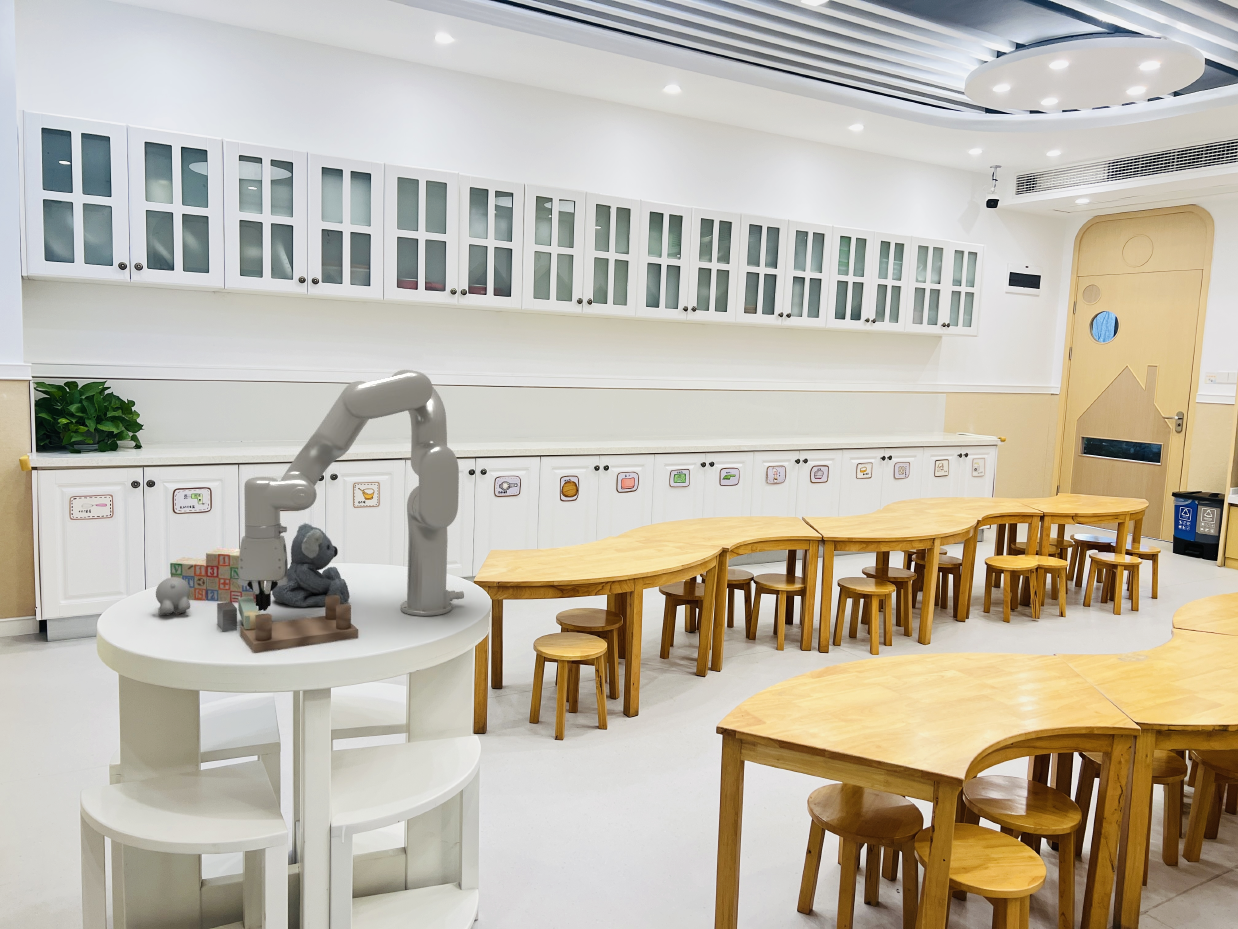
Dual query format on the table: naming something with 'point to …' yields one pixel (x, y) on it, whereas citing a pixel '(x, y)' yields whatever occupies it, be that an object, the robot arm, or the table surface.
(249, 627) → the folding leg
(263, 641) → the stool seat
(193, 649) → the table surface
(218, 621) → the block
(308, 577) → the koala plush
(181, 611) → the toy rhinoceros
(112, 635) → the table surface
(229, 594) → the stack of blocks
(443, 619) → the table surface
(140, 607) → the table surface
